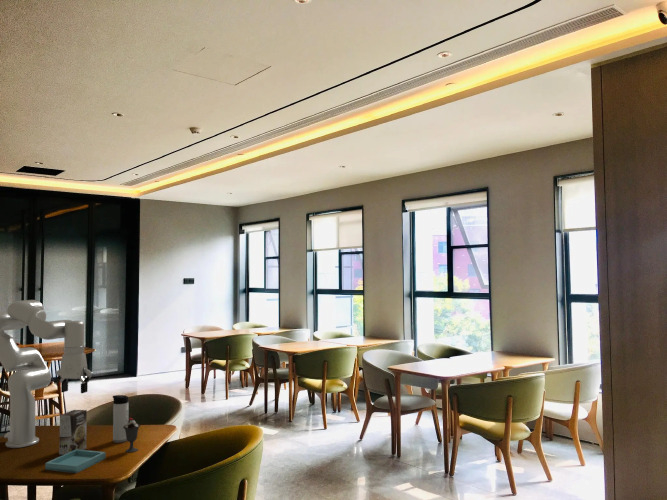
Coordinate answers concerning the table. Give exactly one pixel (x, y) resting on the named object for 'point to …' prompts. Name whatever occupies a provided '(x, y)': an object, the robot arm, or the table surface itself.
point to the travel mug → (120, 418)
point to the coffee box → (72, 431)
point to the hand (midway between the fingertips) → (74, 392)
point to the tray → (75, 461)
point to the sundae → (131, 433)
